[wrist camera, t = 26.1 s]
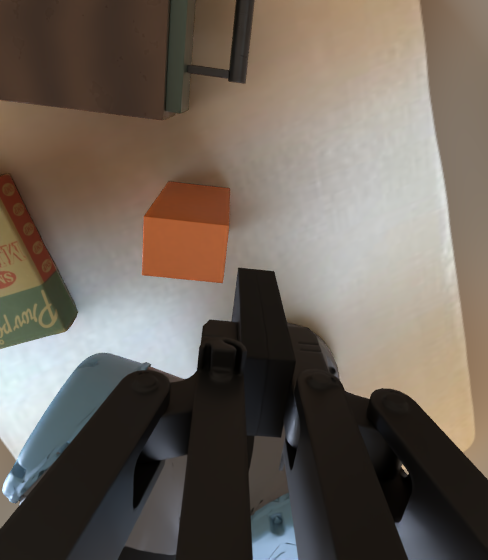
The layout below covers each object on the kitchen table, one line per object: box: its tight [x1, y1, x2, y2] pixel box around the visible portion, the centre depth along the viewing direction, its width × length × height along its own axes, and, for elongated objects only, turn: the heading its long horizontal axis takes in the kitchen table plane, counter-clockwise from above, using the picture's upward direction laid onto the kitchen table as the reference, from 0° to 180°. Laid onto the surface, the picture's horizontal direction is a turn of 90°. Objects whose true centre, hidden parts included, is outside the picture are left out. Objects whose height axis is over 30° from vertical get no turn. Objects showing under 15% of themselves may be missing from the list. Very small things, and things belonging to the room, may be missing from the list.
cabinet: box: [0, 0, 176, 120], centre depth 33 cm, size 16×14×8 cm
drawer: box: [165, 0, 255, 113], centre depth 33 cm, size 19×12×6 cm, turn 83°
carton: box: [0, 173, 78, 349], centre depth 43 cm, size 8×16×4 cm, turn 15°
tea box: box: [142, 181, 230, 283], centre depth 38 cm, size 6×4×13 cm
